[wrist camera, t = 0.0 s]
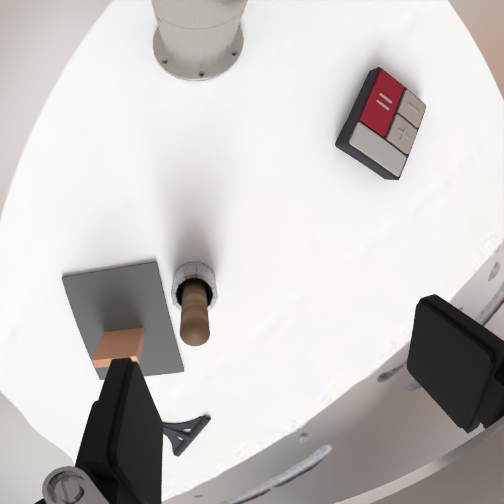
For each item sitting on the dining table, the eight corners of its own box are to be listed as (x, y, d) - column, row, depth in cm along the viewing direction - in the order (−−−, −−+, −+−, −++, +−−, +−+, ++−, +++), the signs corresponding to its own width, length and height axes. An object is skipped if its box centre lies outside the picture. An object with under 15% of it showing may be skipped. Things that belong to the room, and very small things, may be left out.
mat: (62, 276, 43) (61, 278, 42) (156, 261, 45) (156, 262, 44) (100, 378, 49) (100, 379, 49) (184, 369, 51) (184, 371, 51)
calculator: (430, 105, 41) (401, 181, 43) (414, 108, 45) (386, 180, 48) (381, 64, 38) (346, 143, 40) (367, 71, 42) (333, 145, 45)
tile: (104, 332, 46) (91, 360, 39) (143, 327, 47) (136, 356, 39) (107, 340, 47) (95, 368, 39) (146, 335, 47) (139, 365, 40)
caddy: (170, 265, 45) (167, 277, 41) (211, 258, 46) (213, 270, 41) (178, 303, 47) (176, 318, 43) (217, 296, 48) (220, 311, 43)
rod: (181, 275, 45) (177, 323, 32) (203, 272, 46) (206, 318, 32) (185, 295, 46) (183, 348, 33) (206, 292, 46) (212, 343, 33)
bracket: (141, 388, 52) (139, 398, 49) (210, 415, 56) (211, 425, 53) (117, 428, 54) (115, 437, 51) (179, 451, 58) (180, 460, 56)
